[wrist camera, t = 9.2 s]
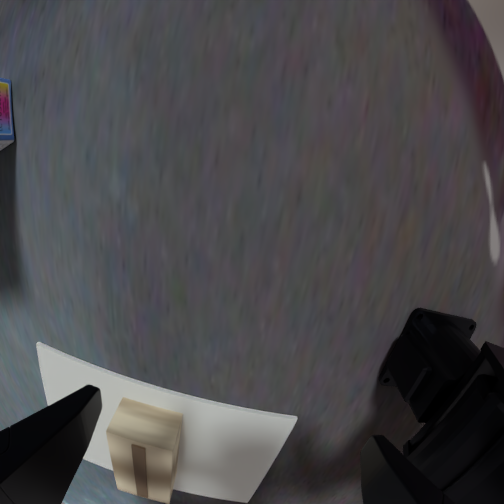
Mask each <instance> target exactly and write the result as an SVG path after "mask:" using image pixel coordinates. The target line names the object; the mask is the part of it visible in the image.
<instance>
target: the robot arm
mask: <svg viewBox="0 0 504 504" xmlns="http://www.w3.org/2000/svg"><path fill="white" fill-rule="evenodd" d="M419 314H420V316H419V317H418V318H417V316H418V315H419ZM475 328H476V322H475V321H473V320H472V319H468V318H463V317H459V316H454V315H450V314H445V313H441V312H436V311H432V310H427V309H423V308H417V309H415V310H414V311H413V312H412V314H411V317H410V319H409V321H408V323H407V325H406V327H405V329H404V331H403V333H402V335H401V337H400V338H399V340H398V342H397V344H396V346H395V348H394V350H393V352H392V354H391V356H390V358H389V359H388V361H387V363H386V366H385V368H384V369H383V371H382V373H381V375H380V377H379V381H380V383H381V385H385V386H396V387H398V389H399V391H400V393H401V395H402V397H403V399H404V401H405V402H408V403H409V405H410V407H411V409H412V411H413V413H414V415H415V417H416V419H417V421H418V422H419V423H425V425H424V426H423V427H422V428H421V429H420V431H419V432H418V433H417V434H416V435H415V436H414V437H413V438H412V439H411V440H409V441H408V442H407V443H406V444H405V445H404V446H403V454H404V455H403V454H402V453H401V452H400V451H399V450H398V449H397V448H396V447H395V446H394V445H392V444H391V443H390V442H389V441H388V440H387V439H386V438H385V437H384V436H383V435H372V436H371V437H370V438H369V439H368V441H367V442H366V444H365V445H364V447H363V448H362V450H361V453H360V460H361V487H362V497H363V504H504V348H502V347H500V346H497V345H494V344H492V343H489V342H486V341H485V343H484V344H483V346H482V348H481V351H480V350H479V349H478V348H477V347H476V345H475V344H474V343H473V342H472V341H471V340H470V338H471V336H472V334H473V332H474V330H475ZM385 378H387V379H385ZM384 379H385V380H384ZM101 411H102V398H101V391H100V389H99V388H98V387H95V386H93V385H90V384H89V385H86V386H84V387H82V388H80V389H79V390H77V391H75V392H73V393H71V394H69V395H68V396H66V397H64V398H62V399H60V400H58V401H57V402H55V403H53V404H51V405H49V406H47V407H46V408H44V409H42V410H40V411H38V412H36V413H34V414H32V415H31V416H29V417H27V418H25V419H23V420H21V421H19V422H17V423H15V424H13V425H11V426H10V427H7V428H5V429H4V430H2V431H0V504H61V503H62V501H63V499H64V496H65V494H66V492H67V490H68V488H69V486H70V484H71V482H72V480H73V478H74V475H75V473H76V471H77V469H78V467H79V465H80V463H81V461H82V459H83V457H84V455H85V453H86V451H87V449H88V447H89V444H90V441H91V438H92V436H93V433H94V430H95V427H96V424H97V422H98V419H99V416H100V413H101Z"/></svg>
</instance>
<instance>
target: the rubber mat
mask: <svg viewBox="0 0 504 504" xmlns="http://www.w3.org/2000/svg"><path fill="white" fill-rule="evenodd" d="M36 346H37V353H38V359H39V365H40V370H41V376H42V381H43V385H44V390H45V395H46V399H47V403H48V406H49V405H51V404H53V403H55V402H57V401H58V400H60V399H62V398H64V397H66V396H68V395H69V394H71V393H73V392H75V391H77V390H79V389H80V388H82V387H84V386H86V385H89V384H90V385H93V386H95V387H98V388H99V389H100V391H101V398H102V411H101V413H100V416H99V419H98V422H97V424H96V427H95V430H94V433H93V436H92V438H91V441H90V444H89V447H88V449H87V451H86V453H85V455H84V457H83V459H85V460H87V461H89V462H92V463H94V464H97V465H99V466H102V467H104V468H107V469H110V470H112V471H113V466H112V462H111V457H110V452H109V446H108V441H107V435H106V430H107V428H108V426H109V424H110V422H111V420H112V418H113V416H114V414H115V412H116V410H117V408H118V406H119V404H120V402H121V400H122V398H123V397H125V398H128V399H131V400H134V401H138V402H141V403H145V404H148V405H152V406H155V407H159V408H163V409H167V410H171V411H175V412H179V413H183V416H182V425H181V434H180V443H179V453H178V463H177V473H176V478H175V482H174V486H173V489H175V490H179V491H183V492H187V493H192V494H196V495H201V496H206V497H212V498H217V499H223V500H230V501H236V502H244V503H248V502H249V500H250V499H251V497H252V496H253V494H254V493H255V491H256V489H257V488H258V486H259V485H260V483H261V482H262V480H263V478H264V477H265V475H266V473H267V472H268V470H269V469H270V467H271V465H272V464H273V462H274V460H275V459H276V457H277V455H278V453H279V452H280V450H281V448H282V447H283V445H284V443H285V441H286V439H287V438H288V436H289V434H290V432H291V431H292V429H293V427H294V425H295V423H296V421H297V416H292V415H285V414H279V413H272V412H266V411H260V410H255V409H249V408H244V407H239V406H234V405H229V404H225V403H220V402H215V401H211V400H207V399H203V398H199V397H195V396H191V395H187V394H183V393H179V392H176V391H172V390H168V389H165V388H161V387H158V386H155V385H151V384H148V383H145V382H142V381H139V380H135V379H132V378H129V377H126V376H123V375H121V374H118V373H115V372H112V371H109V370H106V369H104V368H101V367H98V366H96V365H93V364H90V363H88V362H85V361H83V360H80V359H78V358H75V357H73V356H71V355H68V354H66V353H63V352H61V351H59V350H57V349H54V348H52V347H50V346H48V345H45V344H43V343H41V342H39V341H38V342H37V343H36Z"/></svg>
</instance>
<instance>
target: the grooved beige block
mask: <svg viewBox="0 0 504 504" xmlns="http://www.w3.org/2000/svg"><path fill="white" fill-rule="evenodd" d="M182 416H183V413H179V412H175V411H171V410H167V409H163V408H159V407H155V406H152V405H148V404H145V403H141V402H138V401H134V400H131V399H128V398H125V397H123V398H122V400H121V402H120V404H119V406H118V408H117V410H116V412H115V414H114V416H113V418H112V420H111V422H110V424H109V426H108V428H107V430H106V435H107V441H108V446H109V452H110V457H111V462H112V466H113V471H114V475H115V479H116V484H117V488H118V489H119V490H122V491H125V492H128V493H131V494H134V495H137V496H141V497H144V498H148V499H152V500H155V501H159V502H163V503H167V504H170V499H171V495H172V490H173V486H174V482H175V478H176V473H177V463H178V453H179V443H180V434H181V425H182Z"/></svg>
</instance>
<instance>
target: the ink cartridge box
mask: <svg viewBox="0 0 504 504" xmlns="http://www.w3.org/2000/svg"><path fill="white" fill-rule="evenodd" d="M12 142H14V131H13V120H12V103H11V81H10V80H8V79H4V78H0V151H1V150H2V149H3V148H5V147H6V146H8V145H9V144H11V143H12Z"/></svg>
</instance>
